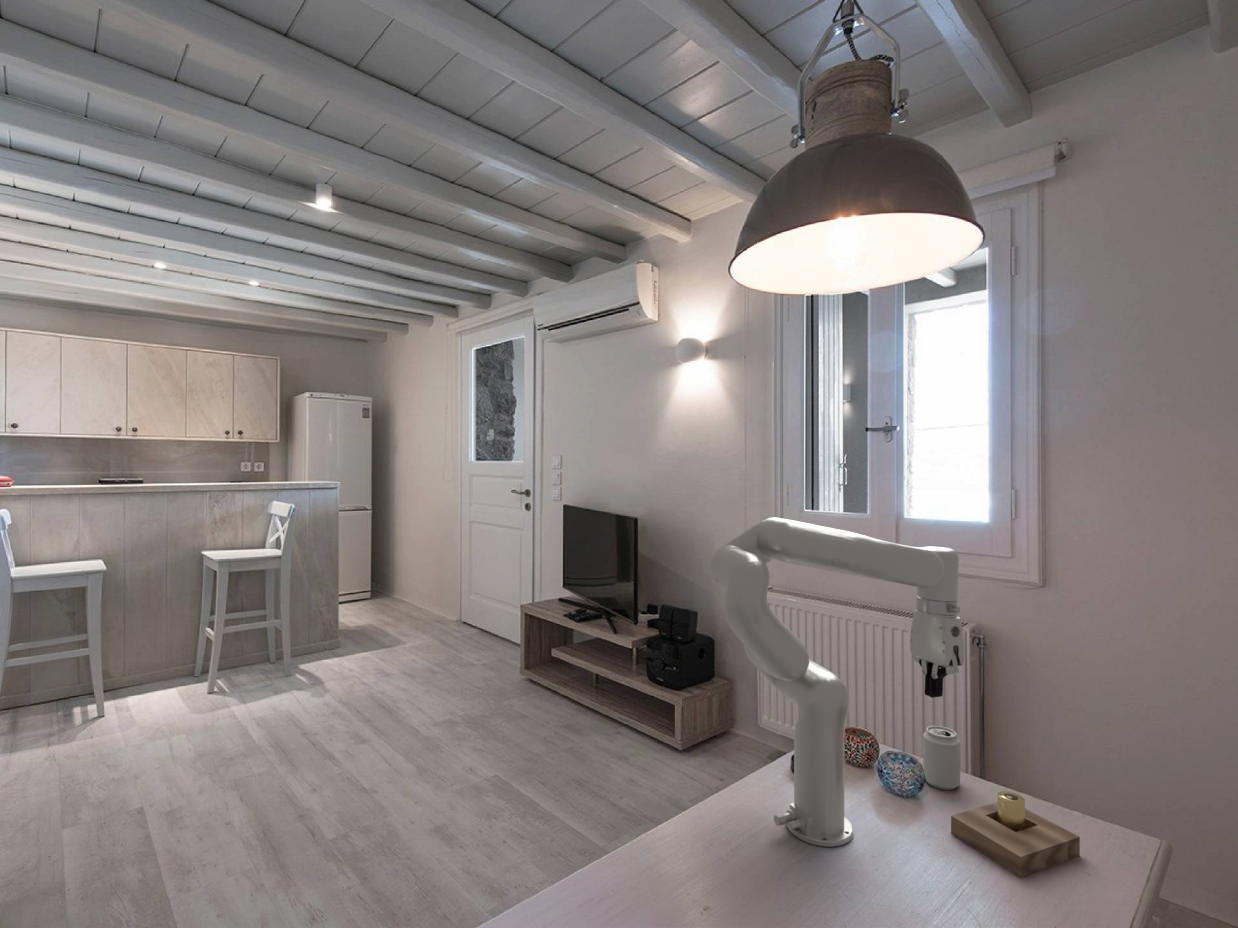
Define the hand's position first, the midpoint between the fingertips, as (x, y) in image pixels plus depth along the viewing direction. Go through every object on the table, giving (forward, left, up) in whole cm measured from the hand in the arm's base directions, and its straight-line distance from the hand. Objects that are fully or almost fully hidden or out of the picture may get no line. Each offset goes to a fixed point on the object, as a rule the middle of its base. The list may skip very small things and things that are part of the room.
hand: (933, 695), depth 129 cm
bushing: (+7, -12, -25) cm, 28 cm away
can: (+13, +9, -25) cm, 29 cm away
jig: (+6, -13, -25) cm, 28 cm away
